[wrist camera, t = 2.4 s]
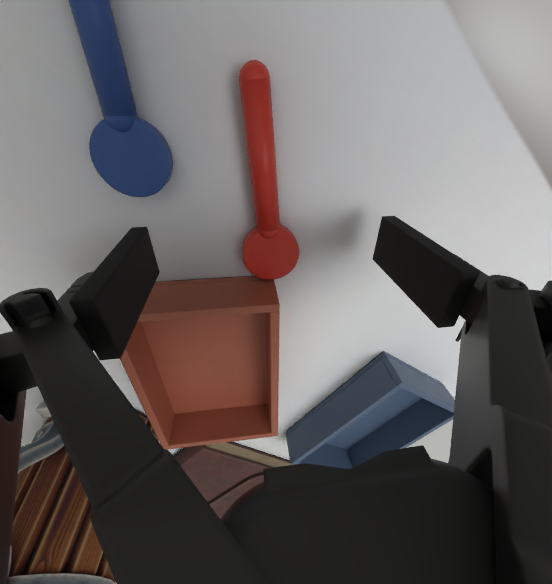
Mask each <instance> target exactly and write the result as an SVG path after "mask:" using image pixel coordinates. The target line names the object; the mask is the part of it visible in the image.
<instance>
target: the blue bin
mask: <svg viewBox="0 0 552 584" xmlns="http://www.w3.org/2000/svg"><path fill="white" fill-rule="evenodd" d="M454 407H455V400H454V398H453V397H452V396H451V394H450V393H449V392H448V390H447V389H446V388H445V387H444V385H443V384H442V383H441V382H439V381H437V380H435V379H434V378H432V377H430V376H428V375H426V374H424V373H423V372H421V371H419V370H417V369H415V368H413V367H412V366H410V365H408V364H406V363H404V362H402V361H400V360H399V359H397V358H395V357H393V356H391V355H389V354H388V353H386V352H382V353H381V354H380V355H379V356H377V357H376V358H375V359H374V360H372V361H371V362H370V363H369V364H368V365H366V366H365V367H364V368H363V369H362V370H360V371H359V372H358V373H357V374H355V375H354V376H353V377H352V378H351V379H349V380H348V381H347V382H346V383H344V384H343V385H342V386H341V387H340V388H338V389H337V390H336V391H335V392H334V393H332V394H331V395H330V396H329V397H327V398H326V399H325V400H324V401H323V402H321V403H320V404H319V405H318V406H316V407H315V408H314V409H313V410H312V411H310V412H309V413H308V414H307V415H306V416H304V417H303V418H302V419H301V420H299V421H298V422H297V423H296V424H295V425H293V426H292V427H291V428H290V429H288V430H287V431H286V437H287V444H288V450H289V456H290V463H291V464H292V465H295V464H301V463H308V464H315V465H322V466H330V467H337V468H344V469H350V468H354V467H356V466H358V465H359V464H361V463H363V462H365V461H367V460H369V459H371V458H373V457H375V456H377V455H379V454H381V453H383V452H385V451H389V450H396V449H402V448H406V447H408V446H409V445H411V444H413V443H414V442H416V441H417V440H419V439H421V438H423V437H424V436H426V435H427V434H429V433H431V432H432V431H434V430H436V429H437V428H439V427H441V426H442V425H444V424H445V423H447V422H449V421H451V420H452V419H453V418H454Z"/></svg>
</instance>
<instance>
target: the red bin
mask: <svg viewBox="0 0 552 584" xmlns="http://www.w3.org/2000/svg"><path fill="white" fill-rule="evenodd" d="M279 305H280V304H279V300H278V295H277V291H276V286H275V282H274V279H271V280H268V279H262V278H259V277H257V276H246V277H230V278H213V279H197V280H180V281H164V282H155V284H154V286H153V288H152V290H151V292H150V295H149V297H148V299H147V301H146V304H145V306H144V308H143V310H142V313H141V315H140V317H139V319H138V321H137V324H136V326H135V328H134V330H133V333H132V335H131V337H130V339H129V342H128V344H127V346H126V348H125V350H124V353H123V355H122V357H121V358H120V360H121V362H122V364H123V366H124V368H125V370H126V373H127V375H128V377H129V379H130V381H131V383H132V385H133V387H134V389H135V391H136V394H137V396H138V398H139V400H140V402H141V404H142V406H143V408H144V410H145V412H146V414H147V417H148V419H149V421H150V423H151V425H152V427H153V429H154V431H155V433H156V435H157V438H158V440H159V442H160V444H161V446H162V447H163V448H164V449H165V450H166V449H174V448H182V447H190V446H199V445H207V444H215V443H223V442H231V441H239V440H247V439H255V438H264V437H272V436H278V377H279Z"/></svg>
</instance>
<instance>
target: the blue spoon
mask: <svg viewBox="0 0 552 584" xmlns="http://www.w3.org/2000/svg"><path fill="white" fill-rule="evenodd" d="M69 3H70V6H71V10H72V13H73V16H74V19H75V23H76V26H77V29H78V33H79V36H80V39H81V43H82V46H83V49H84V53H85V56H86V59H87V63H88V66H89V69H90V73H91V76H92V79H93V83H94V86H95V89H96V93H97V96H98V99H99V102H100V106H101V109H102V112H103V116H104V118H105V119H104V120H102V121H101V122H100V123H99V124H97V125H96V127H95V128H94V130H93V132H92V134H91V138H90V155H91V158H92V161H93V164H94V166H95V168H96V170H97V171H98V173H99V174H100V176H101V177H102V178H103V179H104V180H105V181H106V182H107V183H108V184H109V185H110V186H111V187H113V188H114V189H116V190H117V191H119V192H121V193H123V194H126V195H129V196H134V197H147V196H151V195H153V194H155V193H157V192H158V191H160V190H161V189H162V188H163V187H164V185H165V184H166V183H167V182H168V180H169V179H170V176H171V174H172V169H173V159H172V154H171V150H170V148H169V145H168V143H167V142H166V140H165V138H164V137H163V136H162V134H161V133H160V132H159V131H158V130H157V129H156V128H155V127H154V126H152V125H151V124H150V123H148V122H147V121H145V120H143V119H141V118H138V117H137V112H136V108H135V104H134V100H133V96H132V92H131V87H130V83H129V79H128V75H127V71H126V67H125V63H124V58H123V54H122V50H121V46H120V42H119V38H118V34H117V30H116V25H115V21H114V17H113V13H112V9H111V5H110V1H109V0H69Z"/></svg>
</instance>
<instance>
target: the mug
mask: <svg viewBox="0 0 552 584" xmlns="http://www.w3.org/2000/svg"><path fill="white" fill-rule="evenodd" d="M36 411H37V412H38V413H39V414H40V415H41V416H42V417H43V418H45V417H50V418H49V419H48V420H46V422H45V424H44V425H43V426H42V428H41V429H40V430H38V431H37V433H36V435H35V437H34V439H33V441H32V442H31V443H30V444H28V445H25V446H23V447H21V448H20V457H19V467H18V477H17V487H16V496H15V506H14V516H13V526H12V535H11V545H10V555H9V565H8V574H7V584H116V583H115V582H116V581H115V578H114V576H113V573H112V571H111V569H110V566H109V564H108V562H107V559H106V557H105V555H104V552H103V550H102V548H101V545H100V543H99V541H98V538H97V536H96V534H95V531H94V528H93V525H92V523H91V518H90V514H91V512H92V507H91V505H90V502H89V500H88V498H87V495H86V493H85V491H84V489H83V486H82V484H81V482H80V480H79V477H78V475H77V473H76V471H75V468H74V466H73V464H72V462H71V459H70V457H69V455H68V453H67V450H66V448H65V446H64V444H63V441H62V439H61V437H60V435H59V432H58V430H57V428H56V426H55V423H54V421H53V419H52V417H51V414H50V412H49V410H48V408H47V405H46V403H45V401H43V402H42V403H41V404H40V405H39V407H38V408H37V409H36ZM137 413H138V414H139V416H140V417H141V419H142V420H143V421H144V423H145V424H146V425H147V427H148V428H149V429H150V431H151V432H152V434H153V435H154V436H155V438H156V439H157V440H158V438H157V435H156V433H155V431H154V429H153V427H152V425H151V423H150V421H149V419H148V418H147V417H145V416H143V415H142V414H140V413H139V412H137ZM158 441H159V440H158Z"/></svg>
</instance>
